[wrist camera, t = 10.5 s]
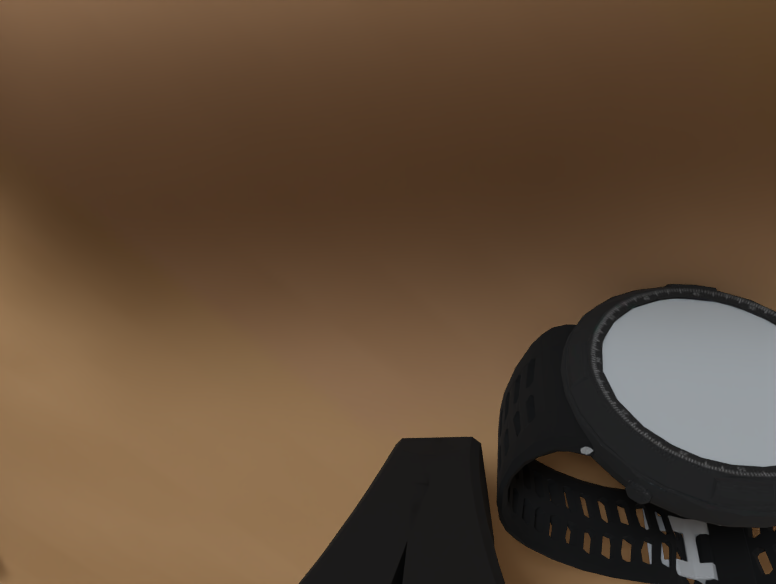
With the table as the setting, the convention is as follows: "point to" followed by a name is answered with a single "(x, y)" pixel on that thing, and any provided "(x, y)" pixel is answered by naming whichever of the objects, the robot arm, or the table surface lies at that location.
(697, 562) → the smartwatch
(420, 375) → the table surface
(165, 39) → the table surface
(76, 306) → the table surface
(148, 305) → the table surface
